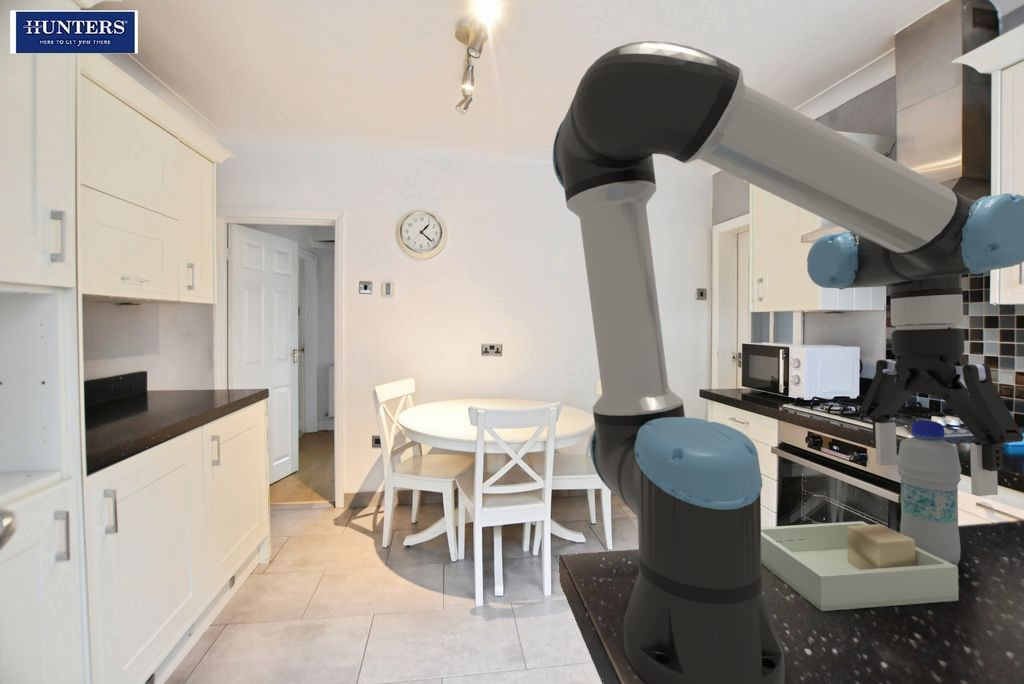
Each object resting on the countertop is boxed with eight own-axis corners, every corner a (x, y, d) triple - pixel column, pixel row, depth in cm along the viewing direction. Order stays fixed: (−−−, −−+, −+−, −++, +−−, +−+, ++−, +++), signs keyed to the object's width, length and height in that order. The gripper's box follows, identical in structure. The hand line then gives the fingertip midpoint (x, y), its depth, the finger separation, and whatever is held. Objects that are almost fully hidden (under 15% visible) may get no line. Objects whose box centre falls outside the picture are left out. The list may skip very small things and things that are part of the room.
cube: (915, 578, 59) (914, 539, 58) (880, 581, 58) (879, 542, 58) (880, 559, 64) (879, 524, 63) (847, 561, 63) (847, 526, 63)
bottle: (976, 576, 60) (973, 425, 59) (914, 570, 61) (912, 424, 61) (943, 552, 66) (941, 416, 66) (888, 548, 68) (886, 415, 68)
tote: (821, 611, 53) (821, 576, 53) (751, 555, 67) (750, 528, 67) (958, 600, 55) (958, 566, 55) (862, 548, 68) (861, 521, 68)
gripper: (1065, 323, 51) (1070, 509, 52) (873, 328, 76) (876, 453, 76) (1005, 326, 51) (1010, 514, 51) (831, 330, 76) (835, 456, 76)
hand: (930, 478), depth 64 cm, fingers open, 13 cm apart
